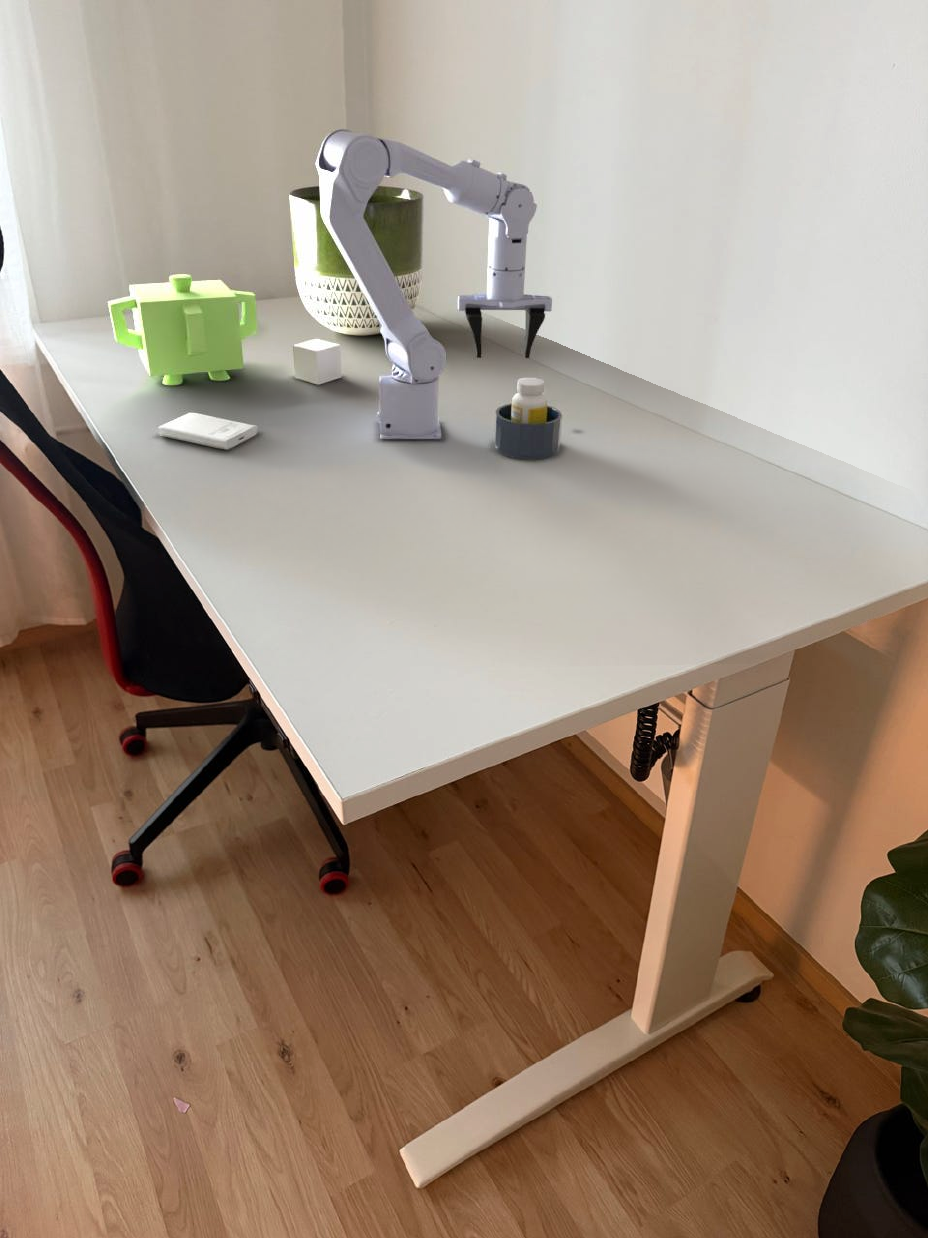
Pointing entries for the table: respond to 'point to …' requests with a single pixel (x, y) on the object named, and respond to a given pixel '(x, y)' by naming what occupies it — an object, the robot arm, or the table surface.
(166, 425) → the hard drive
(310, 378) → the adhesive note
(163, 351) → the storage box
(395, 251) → the planter
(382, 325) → the robot arm
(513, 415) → the supplement bottle
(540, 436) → the dark grey hollow cylinder
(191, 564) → the table surface
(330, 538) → the table surface
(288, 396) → the table surface
